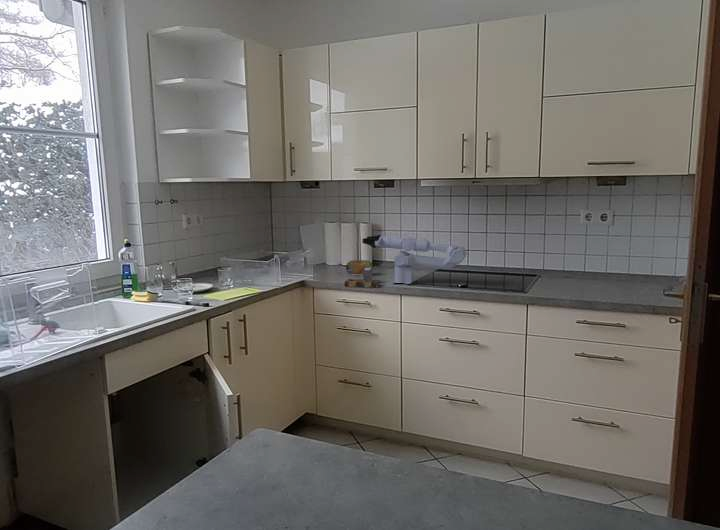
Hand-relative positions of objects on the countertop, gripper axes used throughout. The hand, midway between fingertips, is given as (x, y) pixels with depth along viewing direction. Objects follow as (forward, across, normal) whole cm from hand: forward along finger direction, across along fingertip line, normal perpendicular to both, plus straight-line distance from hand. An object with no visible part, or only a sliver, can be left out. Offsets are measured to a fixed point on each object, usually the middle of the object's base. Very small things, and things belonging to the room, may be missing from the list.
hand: (364, 239), depth 263 cm
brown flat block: (-3, +10, +22) cm, 24 cm away
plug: (-4, +3, +22) cm, 22 cm away
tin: (+6, -16, +23) cm, 28 cm away
